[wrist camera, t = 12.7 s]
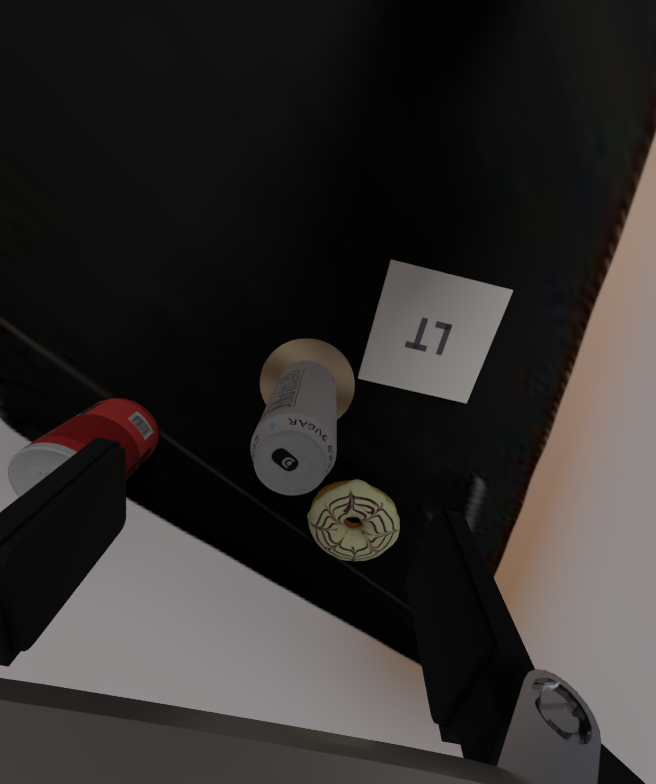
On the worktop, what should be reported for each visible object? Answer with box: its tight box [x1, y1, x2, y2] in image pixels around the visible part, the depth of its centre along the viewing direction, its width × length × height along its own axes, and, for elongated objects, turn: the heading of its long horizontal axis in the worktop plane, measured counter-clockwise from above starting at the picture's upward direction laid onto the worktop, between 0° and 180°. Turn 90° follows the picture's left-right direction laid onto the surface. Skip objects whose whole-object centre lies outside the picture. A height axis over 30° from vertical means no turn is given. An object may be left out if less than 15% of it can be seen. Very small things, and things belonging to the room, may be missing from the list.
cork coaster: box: [260, 338, 355, 419], centre depth 37 cm, size 10×10×1 cm
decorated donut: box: [307, 479, 400, 561], centre depth 42 cm, size 10×11×4 cm
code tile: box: [358, 260, 513, 403], centre depth 35 cm, size 12×12×1 cm
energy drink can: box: [251, 360, 337, 495], centre depth 30 cm, size 6×6×15 cm
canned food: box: [8, 398, 159, 497], centre depth 35 cm, size 8×8×11 cm
